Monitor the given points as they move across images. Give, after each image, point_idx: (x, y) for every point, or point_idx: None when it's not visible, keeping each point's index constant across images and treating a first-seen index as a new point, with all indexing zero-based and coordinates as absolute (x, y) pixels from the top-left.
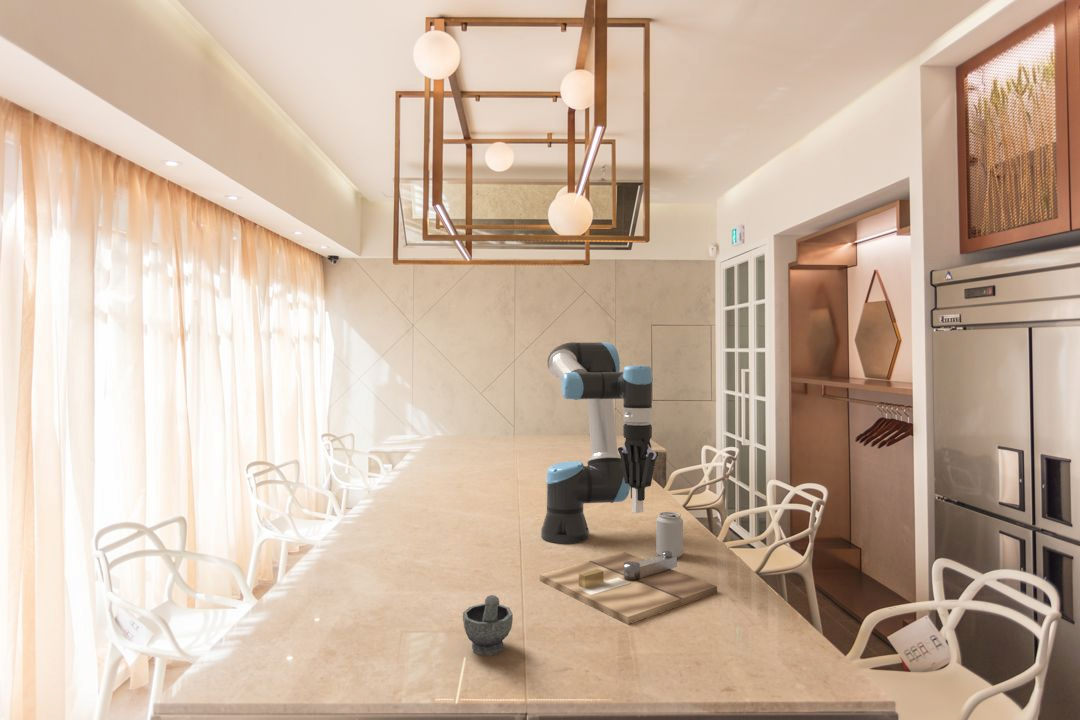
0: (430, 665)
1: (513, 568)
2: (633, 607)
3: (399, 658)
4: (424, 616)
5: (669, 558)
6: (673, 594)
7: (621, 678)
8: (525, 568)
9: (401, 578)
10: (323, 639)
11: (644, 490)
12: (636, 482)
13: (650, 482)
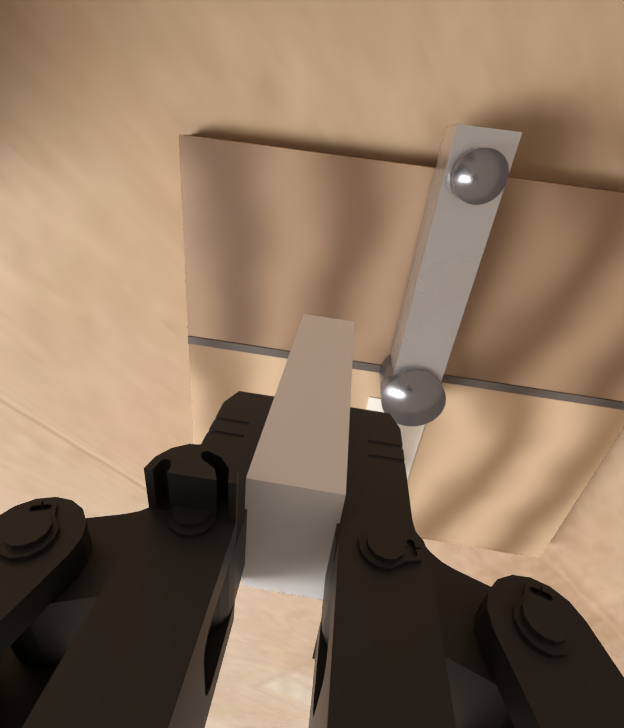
0: None
1: (89, 470)
2: (526, 520)
3: None
4: (225, 659)
5: (500, 197)
6: (602, 400)
7: (612, 657)
8: (104, 454)
9: None
10: (213, 720)
11: (411, 515)
12: (314, 709)
13: (619, 712)
